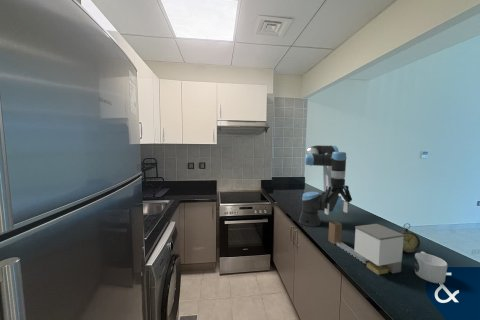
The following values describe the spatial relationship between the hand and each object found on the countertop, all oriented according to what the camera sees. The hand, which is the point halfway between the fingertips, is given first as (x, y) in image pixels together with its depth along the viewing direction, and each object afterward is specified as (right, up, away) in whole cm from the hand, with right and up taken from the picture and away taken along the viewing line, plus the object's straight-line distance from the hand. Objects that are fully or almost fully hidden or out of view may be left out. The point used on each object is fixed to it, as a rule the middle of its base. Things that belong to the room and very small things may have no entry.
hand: (336, 213), depth 118 cm
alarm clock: (+34, -20, -9) cm, 40 cm away
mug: (+28, -21, -28) cm, 45 cm away
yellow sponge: (+7, -21, -25) cm, 33 cm away
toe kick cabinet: (+9, -20, -22) cm, 31 cm away
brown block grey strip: (+2, -19, -8) cm, 21 cm away
